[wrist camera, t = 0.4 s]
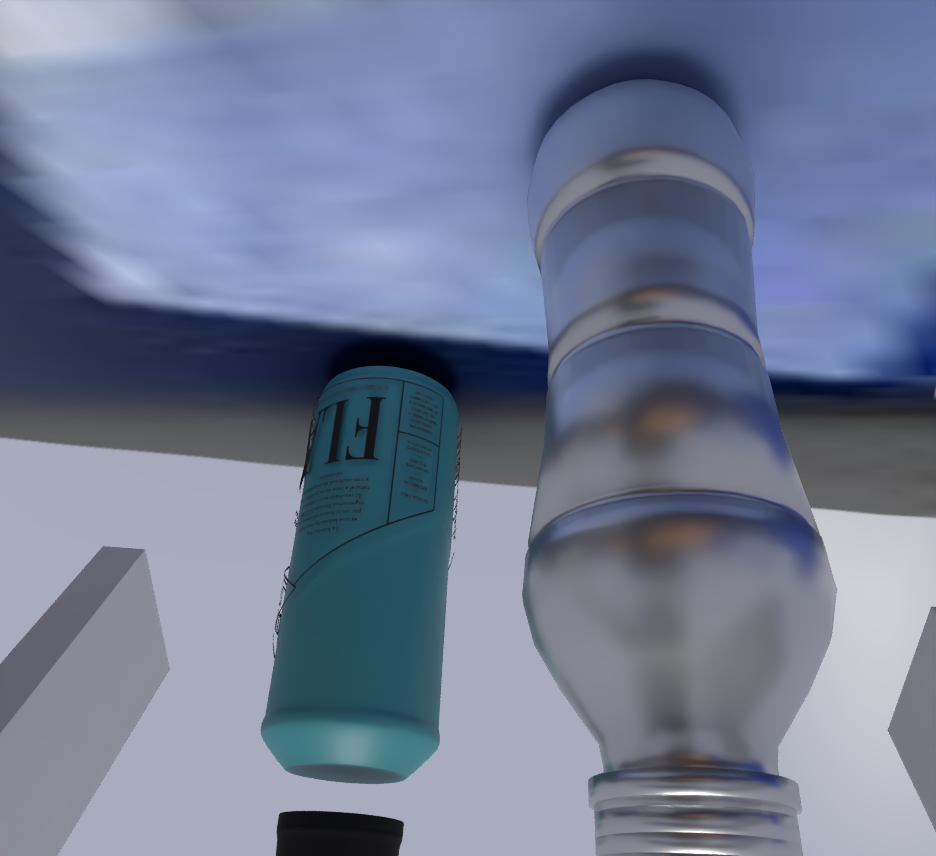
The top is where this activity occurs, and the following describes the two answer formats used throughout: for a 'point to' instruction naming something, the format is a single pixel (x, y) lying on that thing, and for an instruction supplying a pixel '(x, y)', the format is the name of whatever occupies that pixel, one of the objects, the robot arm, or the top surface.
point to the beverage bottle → (365, 601)
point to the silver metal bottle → (668, 482)
